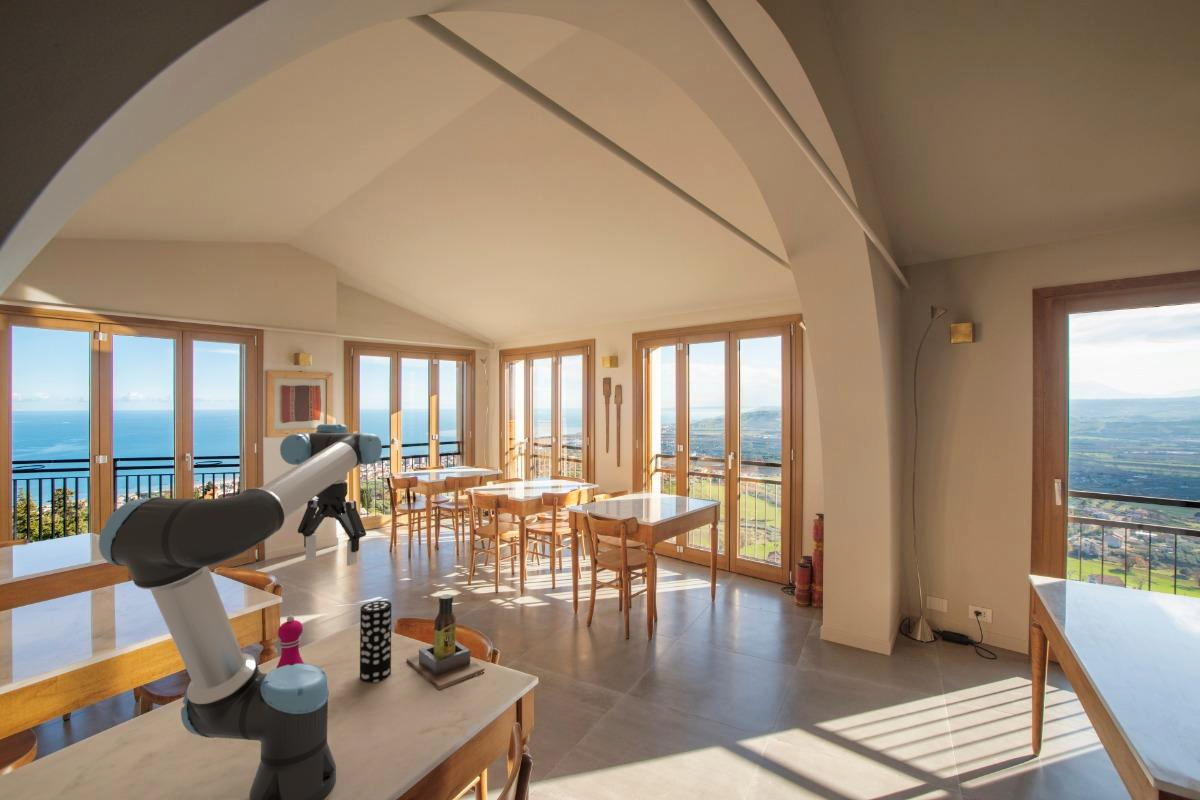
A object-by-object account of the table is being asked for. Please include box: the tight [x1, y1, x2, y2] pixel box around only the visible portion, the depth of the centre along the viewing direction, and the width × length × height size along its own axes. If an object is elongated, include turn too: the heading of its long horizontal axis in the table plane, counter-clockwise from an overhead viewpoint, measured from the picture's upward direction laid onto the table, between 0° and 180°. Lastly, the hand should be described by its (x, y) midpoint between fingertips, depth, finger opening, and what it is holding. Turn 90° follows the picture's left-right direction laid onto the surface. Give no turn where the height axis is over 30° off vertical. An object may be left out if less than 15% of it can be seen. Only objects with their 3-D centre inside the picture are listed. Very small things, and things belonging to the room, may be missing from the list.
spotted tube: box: [359, 600, 392, 684], centre depth 152 cm, size 8×8×20 cm
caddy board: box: [406, 653, 485, 690], centre depth 156 cm, size 22×14×1 cm, turn 43°
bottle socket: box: [418, 640, 471, 677], centre depth 157 cm, size 11×11×4 cm
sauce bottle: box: [433, 594, 457, 659], centre depth 157 cm, size 6×6×20 cm
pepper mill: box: [275, 615, 305, 669], centre depth 145 cm, size 7×7×20 cm
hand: (331, 562), depth 138 cm, fingers open, 13 cm apart
